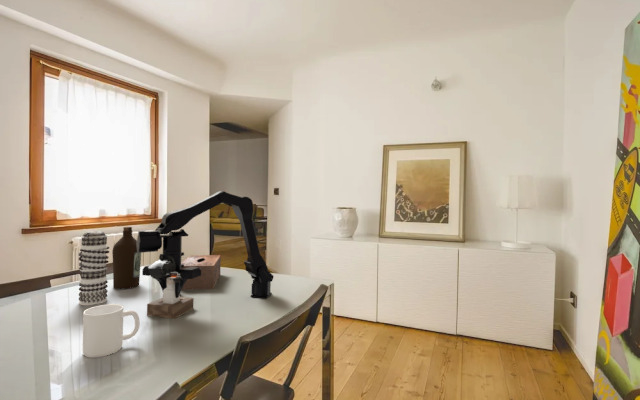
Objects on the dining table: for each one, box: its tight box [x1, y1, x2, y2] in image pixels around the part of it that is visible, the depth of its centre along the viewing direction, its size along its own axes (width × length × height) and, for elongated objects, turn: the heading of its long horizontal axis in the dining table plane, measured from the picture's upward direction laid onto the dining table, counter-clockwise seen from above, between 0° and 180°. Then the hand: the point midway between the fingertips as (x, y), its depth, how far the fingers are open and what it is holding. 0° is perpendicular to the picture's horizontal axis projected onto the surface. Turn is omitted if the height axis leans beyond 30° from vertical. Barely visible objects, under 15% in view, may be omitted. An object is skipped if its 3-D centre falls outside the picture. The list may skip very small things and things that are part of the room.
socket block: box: [146, 296, 195, 319], centre depth 110 cm, size 10×10×4 cm
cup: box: [82, 303, 140, 359], centre depth 83 cm, size 8×12×10 cm
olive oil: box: [112, 226, 142, 290], centre depth 139 cm, size 11×11×25 cm
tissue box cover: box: [181, 254, 222, 291], centre depth 150 cm, size 26×14×10 cm, turn 11°
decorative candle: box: [78, 230, 110, 306], centre depth 119 cm, size 9×9×25 cm
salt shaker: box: [162, 277, 181, 304], centre depth 110 cm, size 4×4×10 cm
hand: (171, 297), depth 110 cm, fingers closed on salt shaker, 4 cm apart
